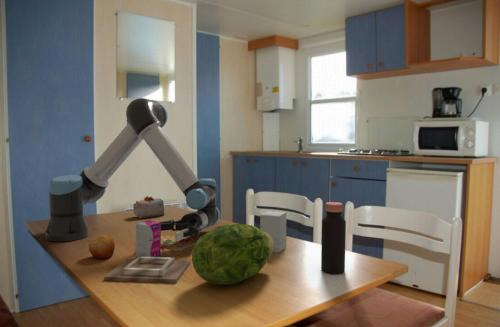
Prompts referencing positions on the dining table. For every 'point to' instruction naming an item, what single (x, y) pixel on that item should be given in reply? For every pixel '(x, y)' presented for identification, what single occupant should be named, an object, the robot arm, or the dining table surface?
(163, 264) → the socket board
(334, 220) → the bottle
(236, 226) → the lettuce
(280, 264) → the dining table surface
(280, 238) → the supplement box
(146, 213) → the food item
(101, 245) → the fruit
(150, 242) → the supplement box
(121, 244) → the dining table surface
